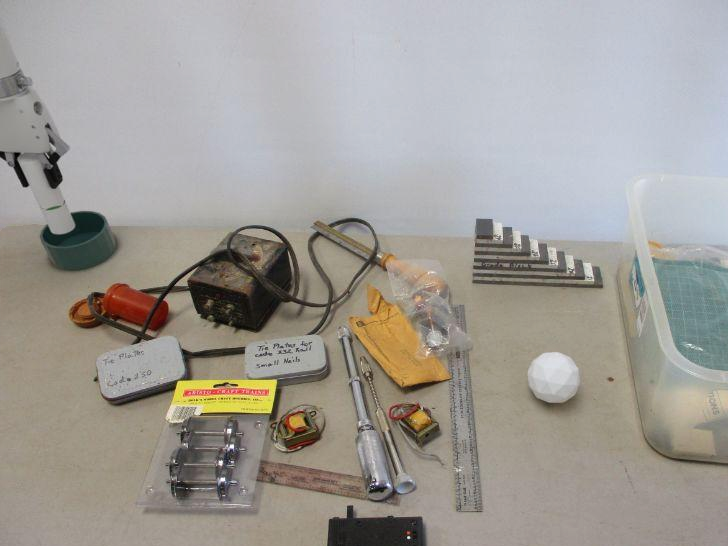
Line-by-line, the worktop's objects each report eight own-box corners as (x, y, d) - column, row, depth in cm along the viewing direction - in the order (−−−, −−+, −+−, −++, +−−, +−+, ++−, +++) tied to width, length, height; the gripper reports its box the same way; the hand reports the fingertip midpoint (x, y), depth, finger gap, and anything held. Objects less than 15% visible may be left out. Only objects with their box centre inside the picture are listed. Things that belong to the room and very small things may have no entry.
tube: (45, 232, 110) (11, 160, 100) (60, 219, 113) (29, 148, 103) (65, 236, 109) (33, 164, 99) (80, 223, 113) (50, 152, 102)
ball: (538, 410, 93) (515, 392, 88) (544, 364, 97) (523, 344, 91) (585, 412, 89) (564, 393, 83) (589, 363, 92) (570, 341, 87)
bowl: (39, 269, 113) (27, 246, 109) (68, 231, 122) (57, 209, 118) (101, 271, 113) (91, 249, 109) (125, 233, 122) (116, 211, 118)
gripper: (62, 76, 95) (99, 175, 107) (-41, 71, 95) (8, 170, 108) (40, 96, 89) (81, 198, 102) (-70, 90, 90) (-15, 193, 102)
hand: (43, 183), depth 105 cm, fingers closed on tube, 4 cm apart
